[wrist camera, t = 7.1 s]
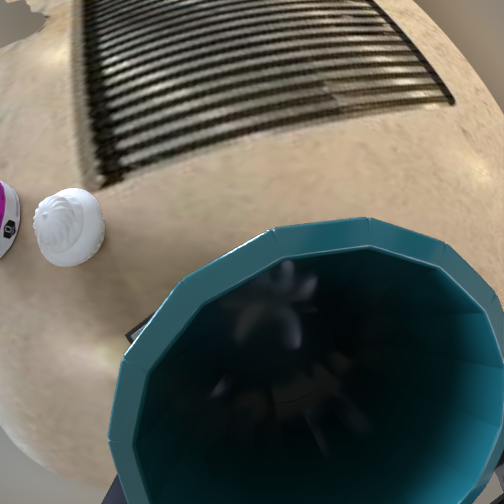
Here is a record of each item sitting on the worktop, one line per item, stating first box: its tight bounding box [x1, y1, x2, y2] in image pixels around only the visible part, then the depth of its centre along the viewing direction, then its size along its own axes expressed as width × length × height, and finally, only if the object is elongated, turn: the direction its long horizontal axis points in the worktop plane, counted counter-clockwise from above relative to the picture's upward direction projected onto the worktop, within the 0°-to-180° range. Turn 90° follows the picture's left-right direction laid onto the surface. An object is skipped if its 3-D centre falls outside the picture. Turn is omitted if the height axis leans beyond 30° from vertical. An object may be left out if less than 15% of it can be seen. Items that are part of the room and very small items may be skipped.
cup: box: [108, 217, 504, 504], centre depth 10 cm, size 7×7×13 cm
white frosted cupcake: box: [33, 188, 105, 267], centre depth 21 cm, size 6×6×7 cm
